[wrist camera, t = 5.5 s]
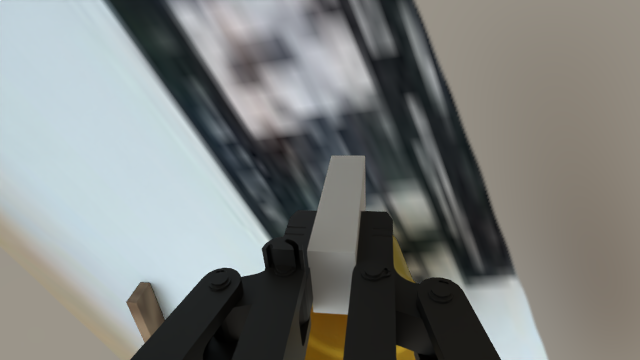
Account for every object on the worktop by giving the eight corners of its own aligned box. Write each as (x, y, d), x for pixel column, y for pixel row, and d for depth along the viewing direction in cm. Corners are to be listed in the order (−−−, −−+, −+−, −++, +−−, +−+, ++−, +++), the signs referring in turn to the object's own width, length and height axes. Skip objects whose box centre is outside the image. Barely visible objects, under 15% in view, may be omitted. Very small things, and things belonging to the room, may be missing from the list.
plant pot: (409, 303, 35) (417, 415, 27) (295, 284, 36) (269, 387, 28) (437, 210, 30) (458, 314, 22) (302, 190, 31) (273, 283, 22)
